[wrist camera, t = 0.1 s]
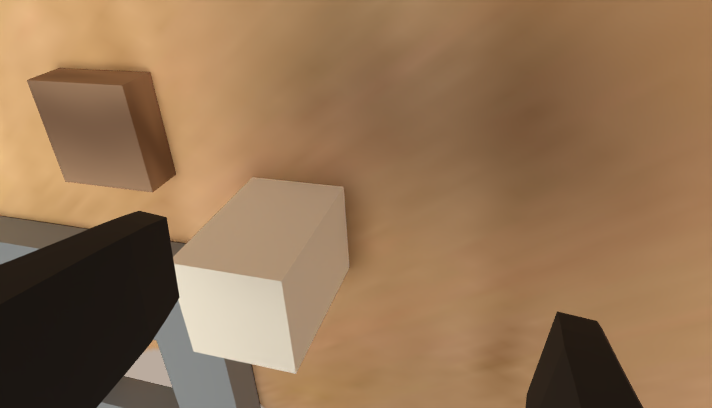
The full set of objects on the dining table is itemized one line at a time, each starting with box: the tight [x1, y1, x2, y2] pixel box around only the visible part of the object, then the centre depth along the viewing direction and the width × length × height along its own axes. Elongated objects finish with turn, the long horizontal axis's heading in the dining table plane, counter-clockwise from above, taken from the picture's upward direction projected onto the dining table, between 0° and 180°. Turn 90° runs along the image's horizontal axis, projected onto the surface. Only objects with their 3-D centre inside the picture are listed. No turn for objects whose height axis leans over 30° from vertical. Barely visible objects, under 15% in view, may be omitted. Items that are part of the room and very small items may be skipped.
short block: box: [27, 68, 176, 192], centre depth 22 cm, size 4×4×2 cm
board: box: [0, 216, 261, 408], centre depth 29 cm, size 16×14×2 cm
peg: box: [173, 177, 350, 374], centre depth 20 cm, size 4×4×6 cm
